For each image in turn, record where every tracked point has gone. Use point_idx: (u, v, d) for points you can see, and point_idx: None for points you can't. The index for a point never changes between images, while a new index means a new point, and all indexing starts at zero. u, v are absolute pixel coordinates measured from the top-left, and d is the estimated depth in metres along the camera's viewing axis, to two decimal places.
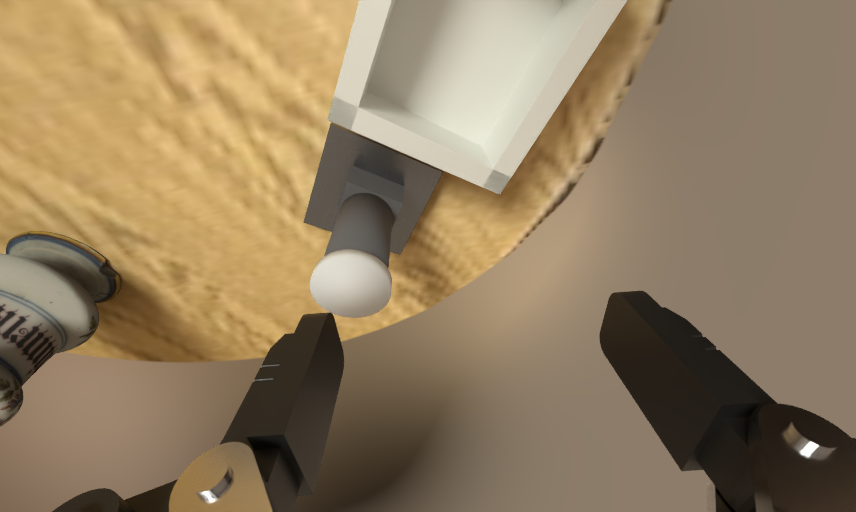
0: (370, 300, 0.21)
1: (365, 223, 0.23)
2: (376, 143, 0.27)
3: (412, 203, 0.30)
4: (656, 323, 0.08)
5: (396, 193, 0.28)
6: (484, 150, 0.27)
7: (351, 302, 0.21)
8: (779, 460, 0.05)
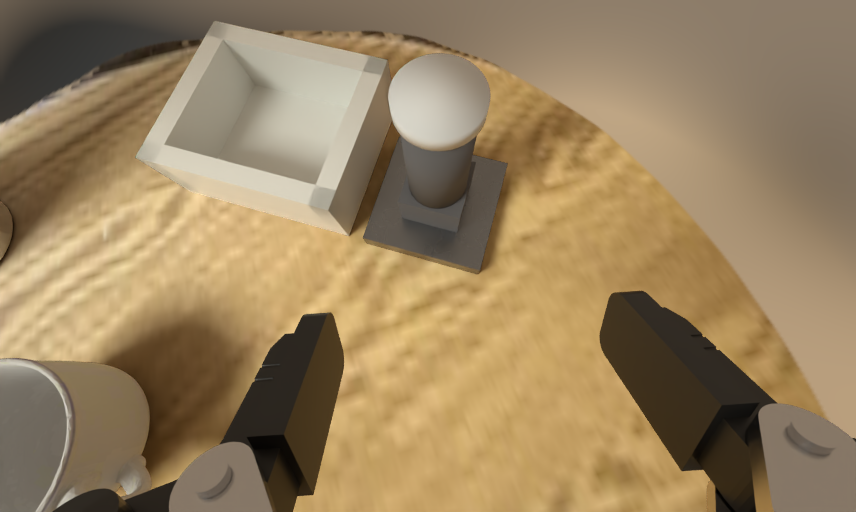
0: (453, 73, 0.16)
1: None
2: None
3: None
4: (656, 323, 0.08)
5: None
6: None
7: (461, 93, 0.16)
8: (779, 460, 0.05)
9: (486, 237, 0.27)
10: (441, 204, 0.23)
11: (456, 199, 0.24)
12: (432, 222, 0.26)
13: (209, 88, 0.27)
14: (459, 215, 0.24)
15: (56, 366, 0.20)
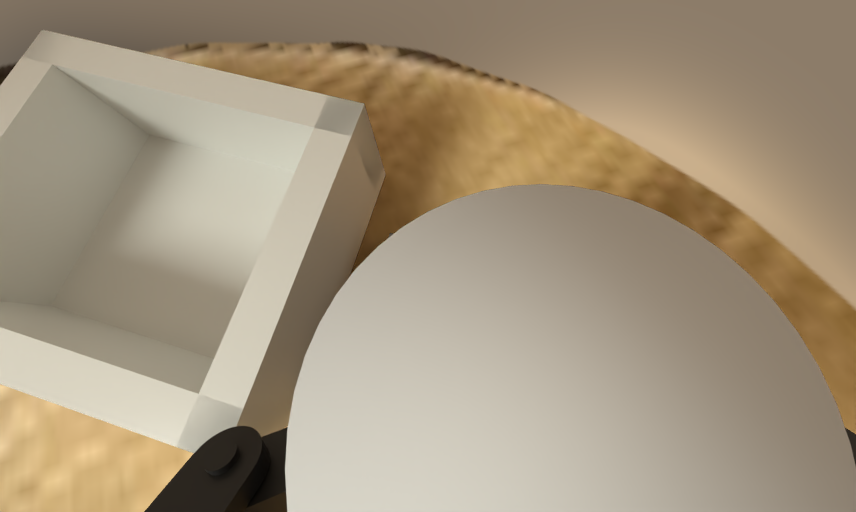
0: (622, 298, 0.03)
1: None
2: None
3: None
4: None
5: None
6: None
7: (684, 434, 0.03)
8: None
9: None
10: None
11: None
12: None
13: (26, 157, 0.14)
14: None
15: None
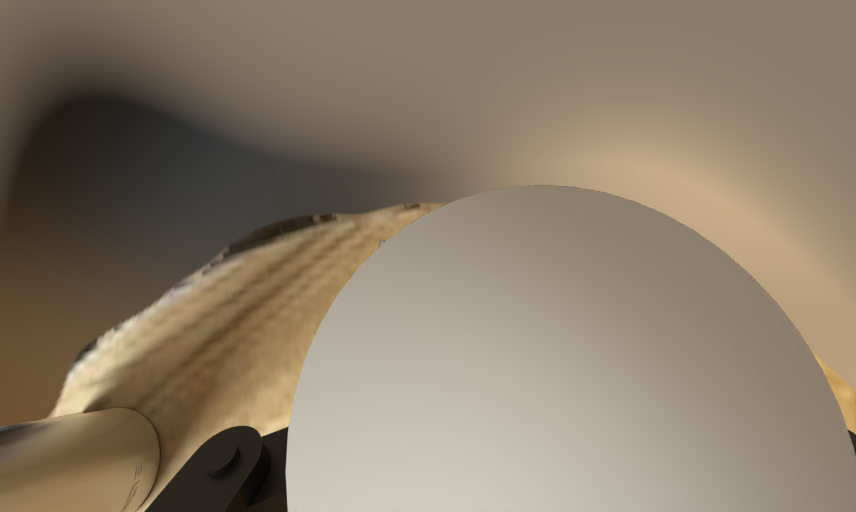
0: (624, 299, 0.03)
1: None
2: None
3: None
4: None
5: None
6: None
7: (687, 434, 0.03)
8: None
9: None
10: None
11: None
12: None
13: None
14: None
15: None
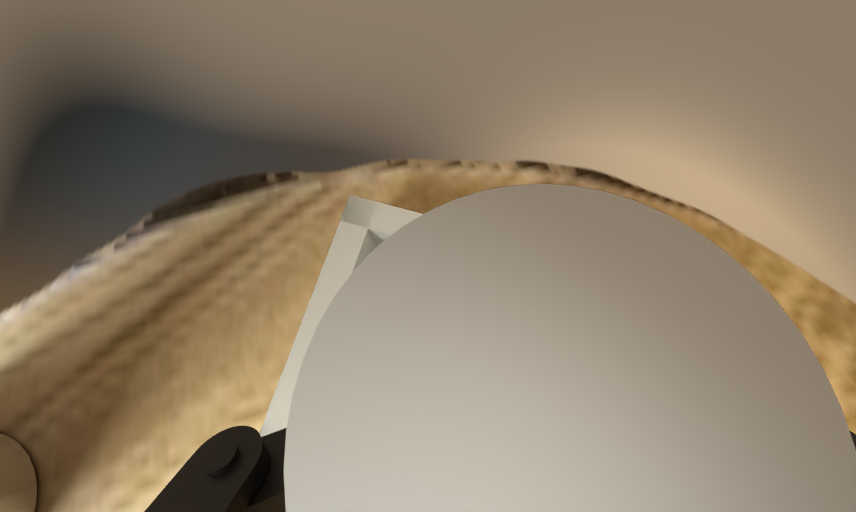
0: (623, 298, 0.03)
1: None
2: None
3: None
4: None
5: None
6: None
7: (686, 435, 0.03)
8: None
9: None
10: None
11: None
12: None
13: None
14: None
15: None
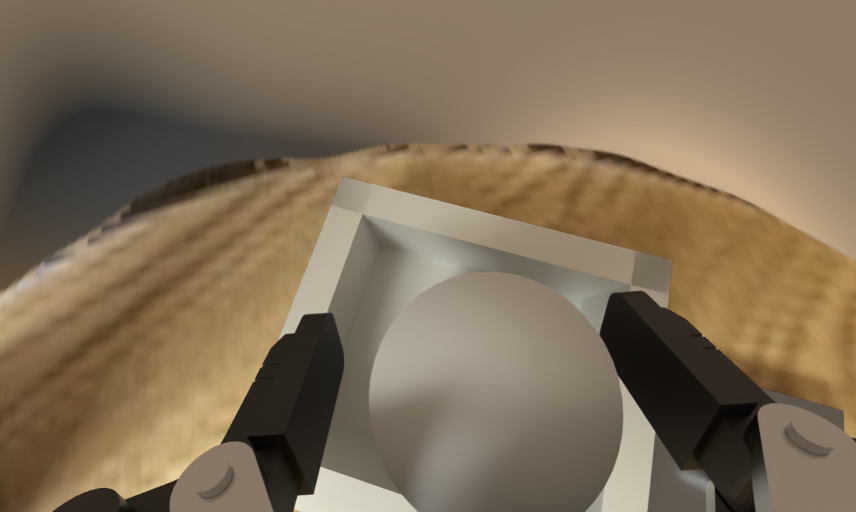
0: (526, 330, 0.07)
1: None
2: None
3: None
4: (655, 323, 0.08)
5: None
6: (590, 296, 0.18)
7: (549, 392, 0.06)
8: (778, 460, 0.05)
9: None
10: None
11: None
12: None
13: (338, 301, 0.15)
14: None
15: None
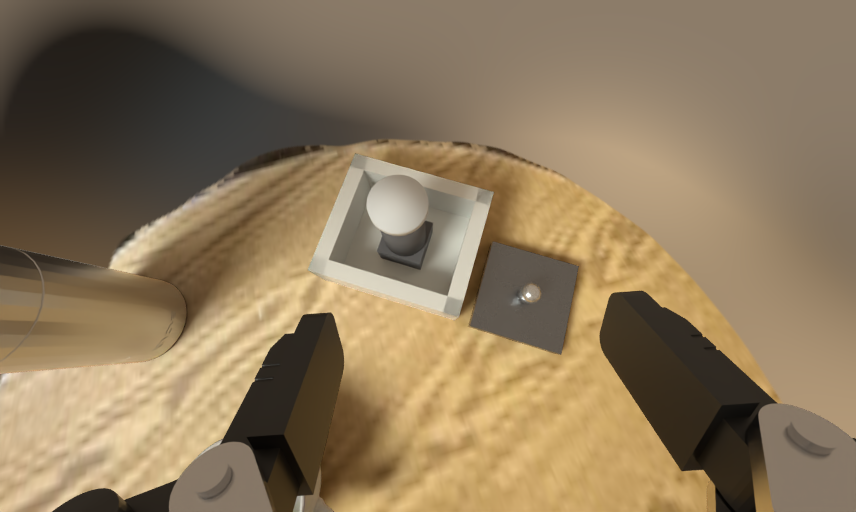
0: (407, 188, 0.26)
1: None
2: (478, 292, 0.36)
3: (524, 261, 0.37)
4: (656, 323, 0.08)
5: None
6: (470, 214, 0.38)
7: (410, 202, 0.26)
8: (779, 460, 0.05)
9: (565, 327, 0.35)
10: (406, 254, 0.34)
11: (417, 250, 0.34)
12: (402, 263, 0.37)
13: (352, 207, 0.35)
14: (419, 261, 0.34)
15: None
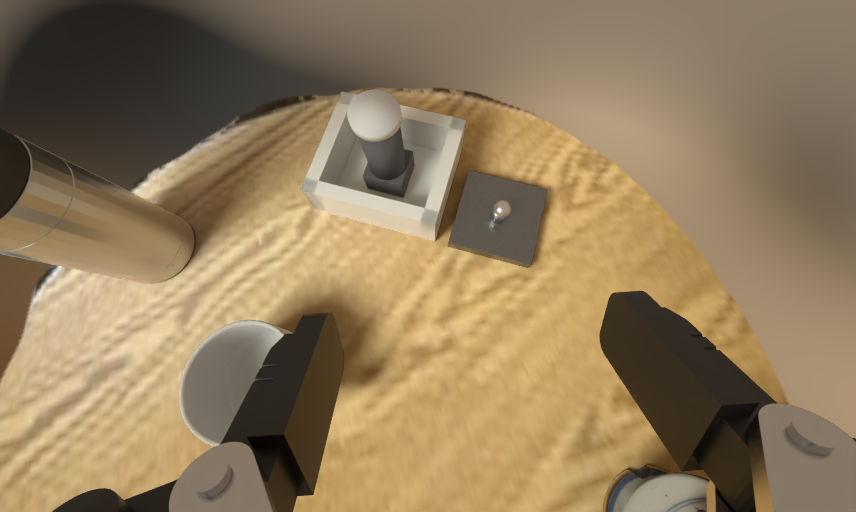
0: (382, 100, 0.30)
1: None
2: (456, 214, 0.40)
3: (497, 186, 0.40)
4: (656, 323, 0.08)
5: None
6: None
7: (385, 111, 0.30)
8: (779, 460, 0.05)
9: (534, 241, 0.38)
10: (388, 177, 0.38)
11: (398, 174, 0.38)
12: (387, 191, 0.40)
13: (340, 139, 0.39)
14: (400, 184, 0.38)
15: None
